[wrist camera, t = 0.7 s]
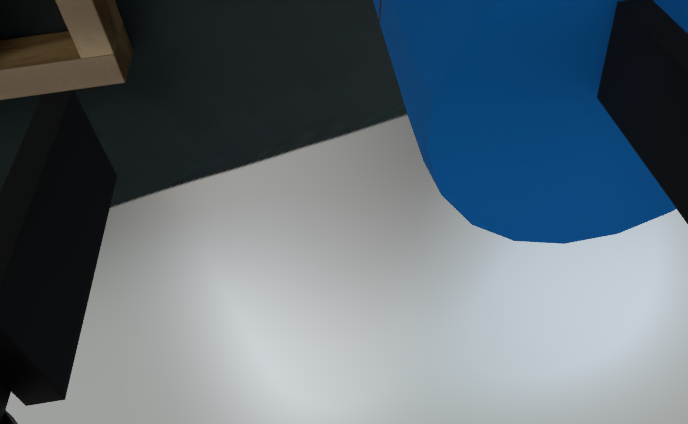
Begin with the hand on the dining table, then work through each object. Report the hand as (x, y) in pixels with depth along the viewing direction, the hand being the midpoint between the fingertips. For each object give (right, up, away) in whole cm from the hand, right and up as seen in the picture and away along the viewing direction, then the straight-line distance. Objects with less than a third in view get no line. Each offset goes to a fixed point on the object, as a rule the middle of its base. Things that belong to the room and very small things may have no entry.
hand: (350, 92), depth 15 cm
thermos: (+5, +17, +20) cm, 26 cm away
